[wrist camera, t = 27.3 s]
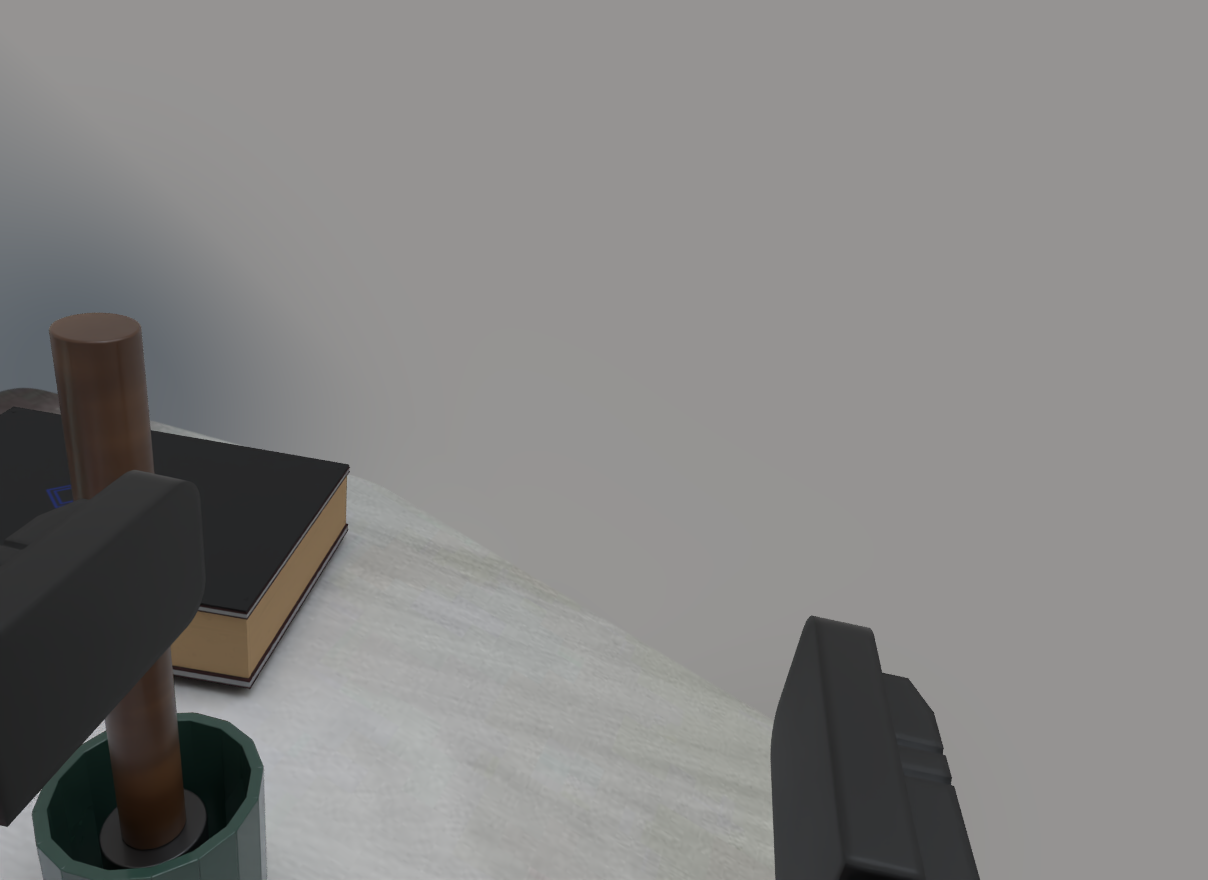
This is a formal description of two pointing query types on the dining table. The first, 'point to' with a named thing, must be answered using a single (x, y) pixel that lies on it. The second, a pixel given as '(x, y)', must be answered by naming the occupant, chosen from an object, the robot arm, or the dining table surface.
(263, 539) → the book
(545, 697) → the dining table surface
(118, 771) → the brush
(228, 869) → the green faceted cup
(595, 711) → the dining table surface
